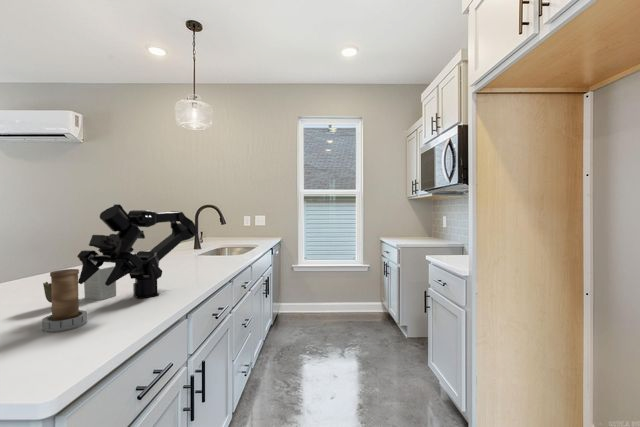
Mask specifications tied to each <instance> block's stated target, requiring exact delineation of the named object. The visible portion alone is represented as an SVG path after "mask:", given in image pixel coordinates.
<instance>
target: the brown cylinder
mask: <svg viewBox="0 0 640 427" xmlns="http://www.w3.org/2000/svg"><path fill="white" fill-rule="evenodd" d="M79 274H80V269H78V268H69V269H66V268H65V269H60V270H59V269H58V270H53V271H50V273H49V276H50V279H51V281H50V283H51V290H52V303H51V315H52V321H62V320H67V319H72V318H75V317H78V316H79V310H80V309H79V308H80V307H79V306H80V305H79V304H80V302H79V300H80V299H79V283H78V281H79Z"/></svg>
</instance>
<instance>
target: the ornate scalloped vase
mask: <svg viewBox="0 0 640 427" xmlns="http://www.w3.org/2000/svg"><path fill="white" fill-rule="evenodd" d="M42 285H43V290H44V296H45V299H46V301H48V302H49V303H51V304H52V290H51V282H48V281H45V282H43V284H42Z"/></svg>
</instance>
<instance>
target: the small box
mask: <svg viewBox="0 0 640 427" xmlns="http://www.w3.org/2000/svg"><path fill="white" fill-rule="evenodd" d="M114 267H115V265H104V264H102V266H100V267H98V268H100V269H99V270H98V271H97V272H96V273H94V274H93V275H92V276H91V277H90V278H89V279H88V280H86V281H85V282H84V283H83V285H84V286H83V287H84V299H89V300H97V301H98V300H99V301H102V300H105V299H109V298H112V297H116V296H117V281H115V282H114V283H112V284H110V285H109V286H106V285H105V282H106V280H107V279H108V277H109V275H110V274H111V272H112V271H113V269H114Z"/></svg>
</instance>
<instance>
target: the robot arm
mask: <svg viewBox="0 0 640 427" xmlns="http://www.w3.org/2000/svg"><path fill="white" fill-rule="evenodd" d="M99 219H100V220H101V221H102V222H103V223H104V224H105V225H106V227H108V228H109V229H110V230H111V231H112V232H114V233H110V234H108V235H104V234H92V236H91V239H90V241H89V243H88V246H89V247H93V248H96V249H98V252H99V253H101V254H99V253H98V252H96V250H91V249H90V250H89V249H87V250H86V249H85V250H81V251H80V252H79V253H78V254H77V258H78V259H79V261H80V262H81V263H82V266H81V271H80V273H79V277H78V285H79V284H80V285H84V282H85V281H86V280H88V279H89V278H90V277H91V276H92V275H93V274H94V273H96V272H97V271H98V270H99V269H100V268H98V267H100V266H102V265H104V263H111V264H115V265H114V266H115V267H114V269H113V271H112V272H111V274H110V275H109V277H108V279H107V280H106V282H105V285H106V286H109V285H110V284H112V283H114V282H115V281H116V282H117V281H118V280H120V279H121V278H123V277H125V276H127V275H129V277H130V279H131V280H133V279H134V280H135V281H134V283H133V284H132V285H133V289H132V291H133V296H134V297H135V298H136V299H139V300H140V299H144V298H146V299H147V298H152V297H156V296H159V295H160V293H159V292H158V279H160V278H162V274H163V270H162V269H161V267H159V266H160V261H161V260H163V259H164V258H165V257H166V256H167V255H169V253H170V252H171V251H173V250H174V249H175V248H176V247H177V246H178V245H179V244H181V243H182V242H185V241H188V240H190V239H193V238H194V237H195V236H196V235H197V232H198V227H197V225H196V224H195V223H194V221H193V220H191V219H190V218H188V217H187V216H186V214H185V213H184V212H182V211H179V210H177V211H174V210H173V211H172V210H171V211H168V212H167V211H166V212H165V211H163V212H156V211H153V210H147V209H146V210H143V209H142V210H139V209H138V210H135V209H134V210H129V211H128V213H127V211H126V210H125V209H124V208H123V206H122V205H121V204H117V203H116V204H115V203H114V204H113V206H111V207H109V208H106V209H104V210H103V211H102V212H100V214H99ZM178 222H179V223H178ZM159 223H170V229H171V234H170V235H168V236H167V237H166V238H164V239H163V240H162V241H160V242H159V243H158V244H156V246H154V247H153V248H152V249H150V250H148V251H145V250H140V251H138V252H137V253H136V252H135V251H134V250H135V249H134V248H133V246H134V245H135V243H136V242H137V240H138V239H145V238H146V235H145V232H144V231H145V230H141V229H140V228H150V227H153V226H155V225H156V224H159ZM116 232H117V233H116Z"/></svg>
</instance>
